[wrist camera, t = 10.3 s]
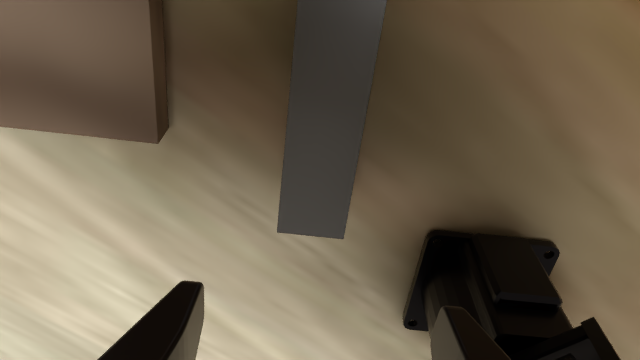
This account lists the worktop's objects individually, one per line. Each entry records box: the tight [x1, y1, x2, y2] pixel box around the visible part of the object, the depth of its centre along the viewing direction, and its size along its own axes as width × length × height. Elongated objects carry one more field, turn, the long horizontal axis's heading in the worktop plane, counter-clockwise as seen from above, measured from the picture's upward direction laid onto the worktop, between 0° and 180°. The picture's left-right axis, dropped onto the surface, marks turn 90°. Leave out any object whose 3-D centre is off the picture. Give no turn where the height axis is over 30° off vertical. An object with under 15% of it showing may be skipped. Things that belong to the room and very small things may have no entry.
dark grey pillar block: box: [277, 0, 387, 239], centre depth 16 cm, size 16×5×4 cm, turn 173°
